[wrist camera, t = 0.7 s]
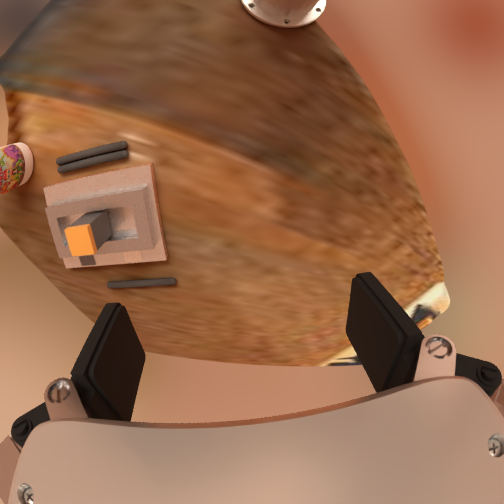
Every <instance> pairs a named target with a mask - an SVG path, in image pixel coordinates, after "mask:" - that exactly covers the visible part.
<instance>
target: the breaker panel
mask: <svg viewBox="0 0 504 504" xmlns="http://www.w3.org/2000/svg"><path fill="white" fill-rule="evenodd" d="M43 189H44V193H45V198H46V202H47V207H46V208H45V211H46V214H47V218H48V222H49V226H50V229H51V233H52V236H53V239H54V242H55V246H56V249H57V252H58V255H59V258H63V261H64V264H65V267H66V268H77V267H89V266H102V265H114V264H127V263H139V262H151V261H164V260H167V258H168V252H167V247H166V242H165V237H164V232H163V226H162V221H161V215H160V209H159V203H158V197H157V190H156V183H155V176H154V169H153V163H151V164H144V165H138V166H133V167H127V168H122V169H117V170H111V171H107V172H102V173H97V174H93V175H88V176H84V177H80V178H75V179H71V180H67V181H64V182H60V183H56V184H52V185H49V186H46V187H44V188H43ZM105 209H107V212H108V216H109V221H110V225H111V229H112V233H113V234H112V235H111V236H110V237H109V238H108V239H107V240H106V242H105V243H104V244H103V245H102V246H101V247H100V248H99V250H98V251H97V252H96V253H95V254H92V255H82V256H72V254H71V251H70V248H69V244H68V241H67V238H66V234H65V231H64V230H65V229H66V228H67V227H69V226H70V225H71V224H72V223H74V222H75V221H76V220H77V219H79V218H80V217H81V216H82V215H84V214H85V213H87V212H93V211H99V210H105Z"/></svg>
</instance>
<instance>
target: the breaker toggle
mask: <svg viewBox="0 0 504 504" xmlns="http://www.w3.org/2000/svg"><path fill="white" fill-rule="evenodd" d="M64 231H65V234H66V238H67V241H68V244H69V248H70V251H71V254H72V256H82V255H92V254H95V253H96V252H97V251H98V250H99V248H100V247H101V246H102V245H103V244H104V243H105V242H106V240H107V239H108V238H109V237H110V236H111V235H112V234H113V233H112V229H111V225H110V221H109V216H108V212H107V209H105V210H99V211H93V212H87V213H85V214H84V215H82V216H81V217H80V218H79V219H77V220H76V221H75V222H74V223H72V224H71V225H70V226H69V227H67V228H66V229H65V230H64Z"/></svg>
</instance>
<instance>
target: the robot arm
mask: <svg viewBox="0 0 504 504" xmlns="http://www.w3.org/2000/svg"><path fill="white" fill-rule="evenodd" d="M241 3H242V5H243V6H244V8H245V9H246V10H247V11H248V12H249V13H250V14H251V15H252V16H253V17H255V18H256V19H258V20H260V21H262V22H264V23H266V24H269V25H272V26H277V27H283V28H297V27H302V26H305V25H308V24H310V23H312V22H314V21H315V20H317V18H319V17H320V16H321V14H322V13H323V12H324V9H325V7H326V0H241ZM250 7H253V8H250ZM317 11H318V12H317ZM284 22H287V24H286V23H284ZM346 333H347V336H348V338H349V340H350V342H351V344H352V346H353V348H354V350H355V351H356V353H357V355H358V357H359V359H360V361H361V363H362V365H363V367H364V369H365V371H366V373H367V375H368V377H369V378H370V381H371V383H372V385H373V387H374V389H375V391H376V392H377V393H376V394H372V395H369V396H365V397H361V398H358V399H354V400H350V401H347V402H343V403H339V404H335V405H331V406H326V407H322V408H317V409H313V410H308V411H303V412H297V413H291V414H285V415H279V416H273V417H265V418H257V419H250V420H240V421H227V422H211V423H145V422H130V421H131V417H132V412H133V408H134V404H135V399H136V395H137V390H138V386H139V382H140V378H141V374H142V370H143V366H144V362H145V352H144V350H143V348H142V346H141V343H140V341H139V339H138V337H137V334H136V332H135V330H134V327H133V325H132V323H131V320H130V318H129V315H128V313H127V310H126V308H125V306H122V305H121V304H120V303H107V304H106V305H105V307H104V308H103V310H102V312H101V314H100V316H99V317H98V319H97V321H96V323H95V325H94V327H93V329H92V331H91V333H90V334H89V336H88V338H87V340H86V342H85V344H84V346H83V348H82V350H81V352H80V354H79V356H78V358H77V360H76V362H75V365H74V367H73V369H72V371H71V375H72V377H71V379H68V378H58V379H56V380H54V381H53V382H51V383H50V384H49V385H48V386H47V388H46V390H45V393H44V399H45V402H44V403H42V404H41V405H39V406H37V407H36V408H34V409H32V410H31V411H29V412H27V413H26V414H24V415H22V416H20V417H19V418H18V419H17V420H16V421H15V422H14V423H13V426H12V429H11V435H12V437H10V436H7V437H6V438H5V440H4V441H3V442H2V443H1V444H0V497H1V499H2V501H3V502H4V503H5V504H504V380H503V379H502V376H501V372H500V370H499V369H498V368H497V366H495V365H494V364H492V363H490V362H487V361H483V360H479V359H475V358H472V357H468V356H465V355H461V354H457V353H456V348H455V345H454V343H453V342H452V341H451V340H450V339H449V338H448V337H446V336H443V335H440V334H431V335H428V336H426V337H424V335H423V334H422V332H421V330H420V329H419V328H418V327H417V325H416V324H415V323H414V322H413V320H412V319H411V318H410V317H409V316H408V314H407V313H406V312H405V311H404V310H403V308H402V307H401V306H400V305H399V304H398V303H397V301H396V300H395V299H394V298H393V297H392V296H391V294H390V293H389V292H388V291H387V290H386V289H385V287H384V286H383V285H382V284H381V283H380V282H379V281H378V280H377V278H376V277H375V276H374V275H373V274H372V273H371V272H365V273H359V274H357V275H356V277H355V278H353V279H352V285H351V294H350V302H349V310H348V317H347V324H346Z"/></svg>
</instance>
